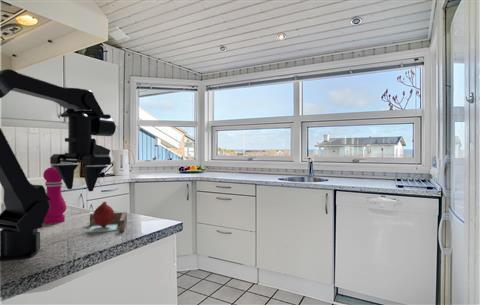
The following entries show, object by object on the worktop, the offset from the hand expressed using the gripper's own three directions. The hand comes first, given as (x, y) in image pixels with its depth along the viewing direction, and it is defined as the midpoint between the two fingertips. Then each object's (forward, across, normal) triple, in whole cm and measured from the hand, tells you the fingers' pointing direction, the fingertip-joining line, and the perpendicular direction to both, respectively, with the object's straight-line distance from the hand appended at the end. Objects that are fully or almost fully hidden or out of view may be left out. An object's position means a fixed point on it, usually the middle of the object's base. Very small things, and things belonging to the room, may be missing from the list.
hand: (80, 190), depth 80 cm
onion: (+13, +1, -8) cm, 15 cm away
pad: (+13, +1, -8) cm, 16 cm away
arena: (+13, 0, -8) cm, 16 cm away
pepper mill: (+13, +23, -6) cm, 28 cm away
